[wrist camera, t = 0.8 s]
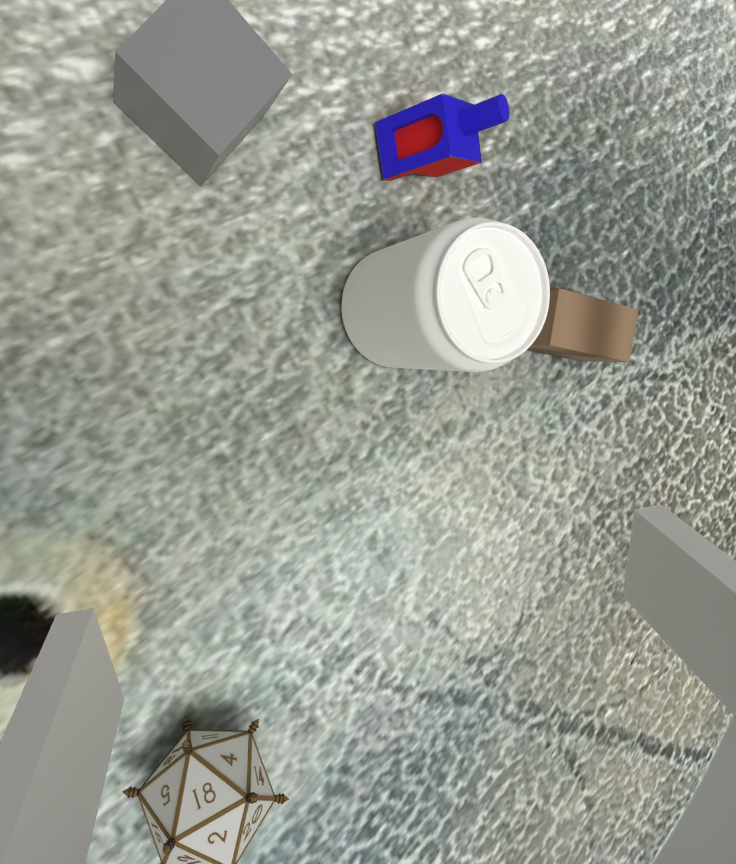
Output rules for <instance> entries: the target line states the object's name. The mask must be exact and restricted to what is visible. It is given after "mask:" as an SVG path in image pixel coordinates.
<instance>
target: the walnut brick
mask: <svg viewBox="0 0 736 864" xmlns="http://www.w3.org/2000/svg"><path fill="white" fill-rule="evenodd" d="M637 315H638V309H634V308H630V307H627V306H623V305H619V304H616V303H612V302H608V301H605V300H601V299H597V298H593V297H590V296H586V295H582V294H579V293H575V292H571V291H568V290H564V289H560V288H557V289H550V300H549V308H548V313H547V317H546V320H545V323H544V325H543V328H542V330H541V332H540V333H539V335H538V337H537V338H536V340H535V341H534V342H533V344H532V345H531V346H530V347H529V348H528V349H527V350H529V351H533V352H538V353H543V354H548V355H553V356H558V357H563V358H568V359H573V360H578V361H600V362H629V361H630V356H631V350H632V344H633V338H634V332H635V327H636V321H637Z"/></svg>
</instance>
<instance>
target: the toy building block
mask: <svg viewBox="0 0 736 864" xmlns="http://www.w3.org/2000/svg"><path fill="white" fill-rule="evenodd" d="M508 119H509V105H508V102H507V99H506V97H505V96H504V95H503V94H500V95H498V96H495V97H493V98H490V99H488V100H485V101H483V102H480V103H478V104H475V105H474V104H471V103H468V102H465V101H463V100H460V99H457V98H454V97H451V96H449V95H446V94H440V95H438V96H436V97H433V98H431V99H429V100H426V101H424V102H422V103H419V104H417V105H415V106H412V107H410V108H408V109H405V110H403V111H401V112H398V113H396V114H394V115H391V116H389V117H387V118H384V119H382V120H380V121H377V122H375V128H376V135H377V141H378V148H379V155H380V161H381V168H382V174H383V180H393V179H396V178H399V177H402V176H405V175H408V174H411V173H412V174H420V175H427V176H434V177H439V176H442V175H445V174H448V173H451V172H454V171H457V170H460V169H463V168H466V167H469V166H472V165H476V164H479V163H482V162H481V153H480V144H479V136H478V132H479V131H482V130H484V129H487V128H490V127H493V126H495V125H498V124H501V123H504V122H506V121H508Z"/></svg>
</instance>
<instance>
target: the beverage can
mask: <svg viewBox="0 0 736 864" xmlns="http://www.w3.org/2000/svg"><path fill="white" fill-rule="evenodd" d="M549 300H550V285H549V278H548V273H547V269H546V266H545V263H544V260H543V258H542V256H541V254H540V252H539V250H538V249H537V247H536V246H535V244H534V243H533V242H532V241H531V240H530V238H529V237H528V236H526V235H525V234H524V233H523V232H522V231H520V230H519V229H517V228H515V227H513V226H511V225H508V224H505V223H501V222H497V221H495V220H491V219H486V218H467V219H462V220H459V221H456V222H453V223H451V224H448V225H445V226H443V227H440V228H437V229H435V230H432V231H429V232H427V233H424V234H421V235H418V236H416V237H413V238H410V239H408V240H405V241H402V242H400V243H397V244H394V245H392V246H389V247H386V248H384V249H381V250H378V251H376V252H374V253H371V254H370V255H368V256H366V257H365V258H364V259H362V260H361V261H360V262H359V263H358V264H357V265H356V266H355V268H354V269H353V270H352V272H351V273H350V275H349V277H348V279H347V281H346V284H345V287H344V291H343V295H342V318H343V323H344V326H345V329H346V332H347V334H348V337H349V338H350V340H351V342H352V343H353V345H354V346H355V348H356V349H357V350H358V351H359V352H360V353H361V354H362V355H363V356H364V357H366V358H367V359H368V360H370V361H372V362H374V363H376V364H378V365H381V366H385V367H391V368H409V369H428V370H448V371H467V372H483V371H488V370H492V369H495V368H498V367H500V366H502V365H504V364H506V363H508V362H509V361H511V360H512V359H514V358H516V357H518V356H519V355H521V354H522V353H523V352H525V351H526V350H527V349H528V348H529V347H530V346H531V345H532V344H533V342H534V341H535V340H536V338H537V337H538V335H539V333H540V332H541V330H542V328H543V325H544V323H545V320H546V317H547V313H548V308H549Z"/></svg>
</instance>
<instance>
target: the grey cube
mask: <svg viewBox="0 0 736 864" xmlns="http://www.w3.org/2000/svg"><path fill="white" fill-rule="evenodd" d="M291 75H292V73H291V72H290V71H289V70H288V69H287V68H286V66H285V65H284V64H283V63H282V62H281V61H280V60H279V58H278V57H277V56H276V55H275V54H274V53H273V51H272V50H271V49H270V48H269V47H268V46H267V45H266V43H265V42H264V41H263V40H262V39H261V38H260V36H259V35H258V34H257V33H256V32H255V31H254V30H253V28H252V27H251V26H250V25H249V24H248V23H247V21H246V20H245V19H244V18H243V17H242V16H241V15H240V13H239V12H238V11H237V10H236V9H235V8H234V6H233V5H232V4H231V3H230V2H229V1H228V0H166V1H165V2H164V3H163V4H162V5H161V6H160V7H159V8H158V9H157V10H156V11H155V12H154V13H153V14H152V15H151V16H150V17H149V18H148V19H147V20H146V21H145V22H144V23H143V25H142V26H141V27H140V28H139V29H138V30H137V31H136V32H135V33H134V34H133V35H132V36H131V37H130V38H129V39H128V40H127V41H126V42H125V43H124V44H123V45H122V46H121V47H120V48H119V49H118V50H117V51H116V53H115V77H114V101H113V103H114V104H115V105H116V106H117V107H118V108H120V109H121V110H122V111H123V112H124V113H125V114H126V115H127V116H128V117H129V118H130V119H131V120H132V121H133V122H134V123H135V124H136V125H137V126H138V127H139V128H140V129H141V130H142V131H143V132H144V133H146V134H147V135H148V136H149V137H150V138H151V139H152V140H153V141H154V142H155V143H156V144H157V145H158V146H159V147H160V148H161V149H162V150H163V151H164V152H165V153H166V154H167V155H168V156H169V157H170V158H171V159H173V160H174V161H175V162H176V163H177V164H178V165H179V166H180V167H181V168H182V169H183V170H184V171H185V172H186V173H187V174H188V175H189V176H190V177H191V178H192V179H193V180H194V181H195V182H196V183H197V184H199V185H200V186H202V185H203V184H204V183H205V181H206V180H207V179H208V178H209V177H210V176H211V175H212V174H213V172H214V171H215V170H216V169H217V168H218V167H219V166H220V165H221V164H222V162H223V161H224V160H225V159H226V158H227V157H228V156H229V155H230V154H231V152H232V151H233V150H234V149H235V148H236V147H237V146H238V145H239V143H240V142H241V141H242V140H243V139H244V138H245V137H246V136H247V135H248V133H249V132H250V131H251V130H252V129H253V128H254V127H255V126H256V125H257V123H258V122H259V121H260V120H261V119H262V118H263V117H264V115H265V114H266V112H267V111H268V109H269V108H270V106H271V105H272V103H273V102H274V101H275V99H276V98H277V96H278V95H279V93H280V92H281V90H282V89H283V87H284V86H285V84H286V83H287V81H288V80H289V78H290V77H291Z"/></svg>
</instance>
